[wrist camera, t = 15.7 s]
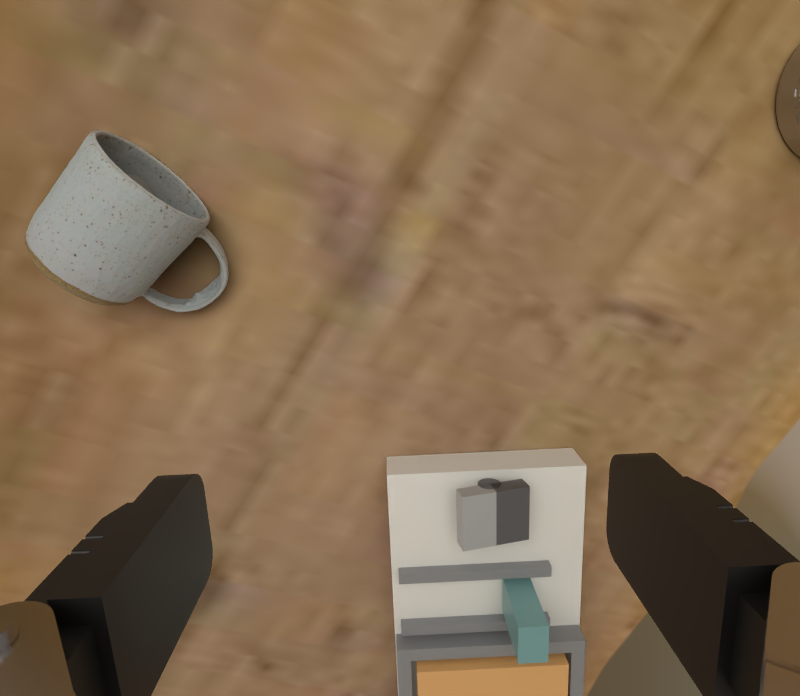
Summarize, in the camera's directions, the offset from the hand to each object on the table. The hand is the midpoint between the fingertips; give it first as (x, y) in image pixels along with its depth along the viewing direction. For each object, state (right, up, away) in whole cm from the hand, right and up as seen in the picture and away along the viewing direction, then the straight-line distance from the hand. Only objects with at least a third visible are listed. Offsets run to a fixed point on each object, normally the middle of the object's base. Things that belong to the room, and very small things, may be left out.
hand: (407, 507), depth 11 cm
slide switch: (+8, -15, +30) cm, 34 cm away
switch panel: (+6, -14, +33) cm, 36 cm away
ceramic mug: (-16, +11, +26) cm, 33 cm away
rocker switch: (+6, -8, +27) cm, 29 cm away
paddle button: (+7, -22, +31) cm, 38 cm away
